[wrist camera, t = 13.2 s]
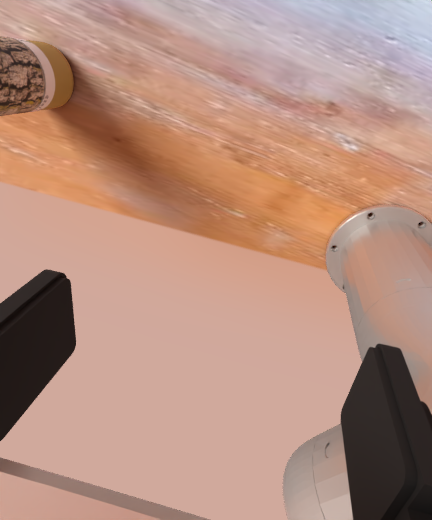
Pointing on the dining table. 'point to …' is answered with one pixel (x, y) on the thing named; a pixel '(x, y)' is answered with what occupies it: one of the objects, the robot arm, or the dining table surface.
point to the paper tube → (32, 76)
